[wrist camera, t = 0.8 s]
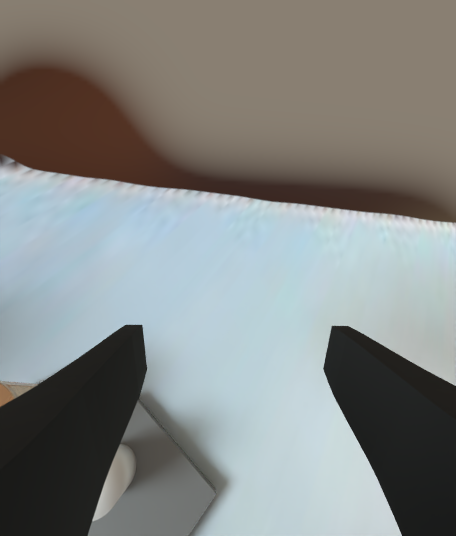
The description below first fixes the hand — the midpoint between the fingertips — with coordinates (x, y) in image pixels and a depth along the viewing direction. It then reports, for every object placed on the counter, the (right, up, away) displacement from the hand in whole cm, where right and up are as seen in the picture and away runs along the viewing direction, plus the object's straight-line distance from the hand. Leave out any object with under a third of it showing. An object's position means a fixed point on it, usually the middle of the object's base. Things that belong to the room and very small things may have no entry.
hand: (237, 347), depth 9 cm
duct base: (-8, -15, +9) cm, 20 cm away
